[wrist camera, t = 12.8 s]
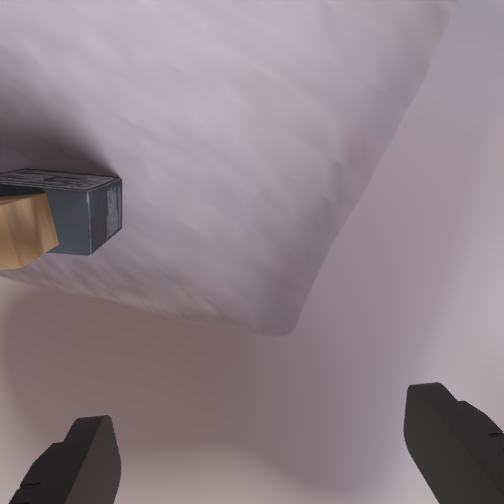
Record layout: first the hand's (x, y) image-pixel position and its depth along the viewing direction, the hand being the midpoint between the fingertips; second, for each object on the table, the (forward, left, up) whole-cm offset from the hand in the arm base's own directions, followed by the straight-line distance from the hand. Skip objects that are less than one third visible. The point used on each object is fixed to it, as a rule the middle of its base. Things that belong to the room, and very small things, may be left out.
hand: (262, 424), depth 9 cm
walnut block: (-2, -18, -23) cm, 29 cm away
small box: (-2, -18, -33) cm, 38 cm away
